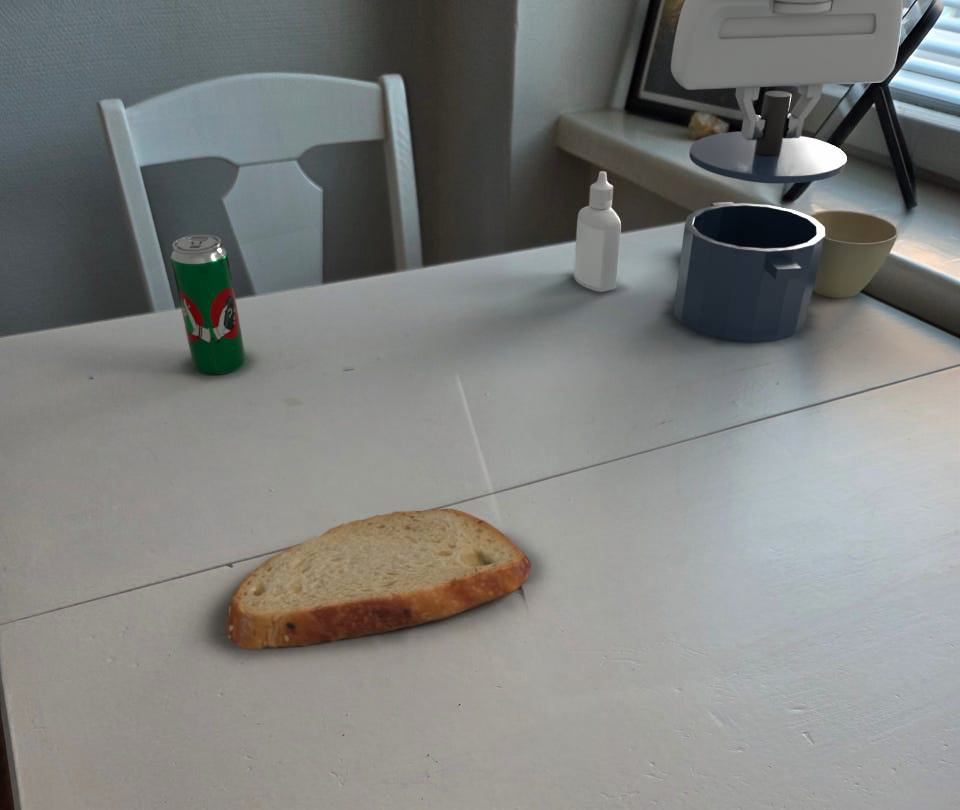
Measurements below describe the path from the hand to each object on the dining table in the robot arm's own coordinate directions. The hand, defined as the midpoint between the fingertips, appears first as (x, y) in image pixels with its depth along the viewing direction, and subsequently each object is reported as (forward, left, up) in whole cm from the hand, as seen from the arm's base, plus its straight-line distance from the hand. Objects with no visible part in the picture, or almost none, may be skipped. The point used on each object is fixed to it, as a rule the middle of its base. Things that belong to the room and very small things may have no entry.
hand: (769, 137), depth 93 cm
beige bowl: (-13, -5, -18) cm, 23 cm away
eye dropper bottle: (+13, -11, -18) cm, 25 cm away
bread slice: (+41, +41, -18) cm, 61 cm away
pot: (0, 0, -18) cm, 18 cm away
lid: (0, 0, -2) cm, 2 cm away
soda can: (+54, +3, -18) cm, 57 cm away
